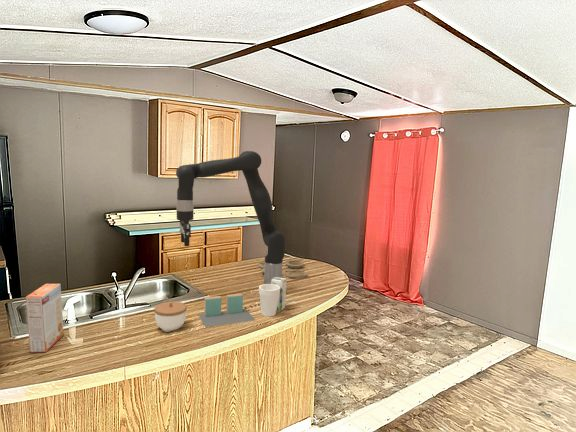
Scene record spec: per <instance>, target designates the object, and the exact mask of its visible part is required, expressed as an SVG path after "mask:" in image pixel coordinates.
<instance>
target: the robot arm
mask: <svg viewBox="0 0 576 432" xmlns="http://www.w3.org/2000/svg"><path fill="white" fill-rule="evenodd" d="M261 164H262V157H261V155H260V154H259V153H258V152H256V151H252V150H251V151H250V150H246V151H243V152H241V153H240V155H239V156H236V157H230V158H223V159H213V160H207V161H202V162H199V163H190V164H183V165H180V166H178V167H177V169H176V171H175V176H176V177H177V178H178V188H177V191H176V194H177V195H176V220H177V221H179V233H180V242H181V243H183V245H184V247H189V246H190V238H191V237H192V235H191V234H192V233H191V232H192V227H191V226H192V225H191V224H190V221H193V220H194V210H195V209H194V207H195V206H194V190H193V189H194V181H195V179H197V178H208V177H209V178H210V177H214V176H217V175H222V174H228V173H231V172H232V173H233V172H240V171H241V172H242V173H243V174H242V175H243V176H244V178H245V181H246V184H247V188H248V192H249V196H250V199H251V202H252V206H253V208H254V211H255V214H256V217H257V221H258V223H259V227H260V230H261V235H262V240H263V243H264V245H265V246H266V247H267V253H266V255H265V257H264V262H265V268H264V273H263V284H271V280H272V279H273V278H275V277H278V278H284V276H283V260H284V257H285V250H286V238H285V236H284V234H283V233H281V232H279V231H278V229H277V228H276V224H275V222H274V218H273V214H274V213H273V208H274V207H273V203H272V198H271V196H270V193H269V191H268V189H267V187H266V185H265V183H264V182H263V180H262V178H261V176H260V173H259V169H258V168H260V167H261Z"/></svg>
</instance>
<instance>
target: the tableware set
mask: <svg viewBox="0 0 576 432" xmlns="http://www.w3.org/2000/svg"><path fill="white" fill-rule="evenodd" d="M303 261H304V259H285V260H284V262H285V264H286V265H287V266H288V267H289V269H285V270H284V271H285V276H286V277H288V278H290V279H291V278H293V279H303V278H306V277H309V274H308V273H307V272H305V271H306V270H305V269H304V270H303V269H301V267H302V266H304V264H305V263H304V262H303ZM257 265H258V267H259V268H261V273H262V274H264V268H265V261H258V264H257Z"/></svg>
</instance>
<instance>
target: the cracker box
mask: <svg viewBox="0 0 576 432" xmlns="http://www.w3.org/2000/svg"><path fill="white" fill-rule="evenodd" d="M62 299H63V298H62V286H61V283H45V284H43V285H42V286H40V287H39V288H37V289H35V290H34V291H32V292H31V293H30V294H27V295H26V296H25V306H26V307H25V308H26V317H27V318H26V319H27V328H28V329H27V331H28V332H27V333H28V343H29V352H30V353H47V352H48V351H49V350H50V349H51V348H52V347H53V346H54V345H55V344H56V343H57V342H58V341H59V340H60V339H61V338H62V337H63V336H64V335H65V332H64V319H63V316H64V315H63V303H62Z"/></svg>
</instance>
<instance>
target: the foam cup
mask: <svg viewBox="0 0 576 432" xmlns="http://www.w3.org/2000/svg"><path fill="white" fill-rule="evenodd" d="M279 293H280V287H279V286H278V285H274V284H264V283H263V284H261V285H259V287H258V294H259V301H260V313H261V316H263V317H273V316H276V315H277V304H278V299H279Z"/></svg>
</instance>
